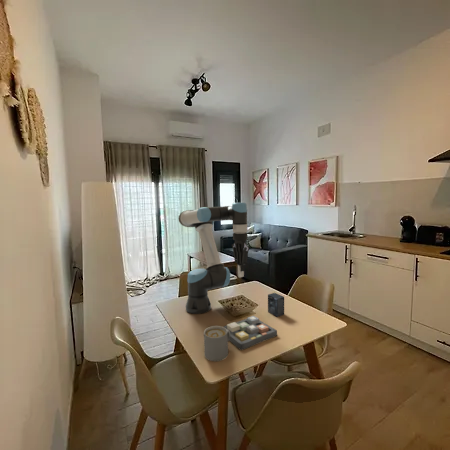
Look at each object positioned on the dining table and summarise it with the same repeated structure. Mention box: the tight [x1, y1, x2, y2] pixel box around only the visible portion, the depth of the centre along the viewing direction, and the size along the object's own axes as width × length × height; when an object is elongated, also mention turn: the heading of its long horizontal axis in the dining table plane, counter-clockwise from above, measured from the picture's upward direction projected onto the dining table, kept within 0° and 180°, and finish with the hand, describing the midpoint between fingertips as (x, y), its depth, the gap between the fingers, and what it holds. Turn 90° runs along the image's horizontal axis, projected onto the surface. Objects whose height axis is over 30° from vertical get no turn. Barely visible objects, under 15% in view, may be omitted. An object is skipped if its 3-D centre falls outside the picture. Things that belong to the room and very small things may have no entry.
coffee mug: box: [203, 325, 230, 362], centre depth 110 cm, size 13×10×10 cm
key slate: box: [246, 315, 260, 325], centre depth 131 cm, size 4×4×2 cm
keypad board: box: [223, 318, 278, 351], centre depth 125 cm, size 18×21×3 cm
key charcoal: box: [246, 324, 259, 335], centre depth 122 cm, size 4×4×2 cm
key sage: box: [238, 322, 249, 331], centre depth 128 cm, size 4×4×2 cm
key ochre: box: [235, 331, 249, 341], centre depth 119 cm, size 4×4×2 cm
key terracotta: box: [257, 324, 269, 334], centre depth 125 cm, size 4×4×2 cm
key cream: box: [226, 321, 240, 332], centre depth 124 cm, size 4×4×2 cm
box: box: [267, 292, 285, 318], centre depth 146 cm, size 8×6×11 cm
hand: (240, 276), depth 137 cm, fingers closed
